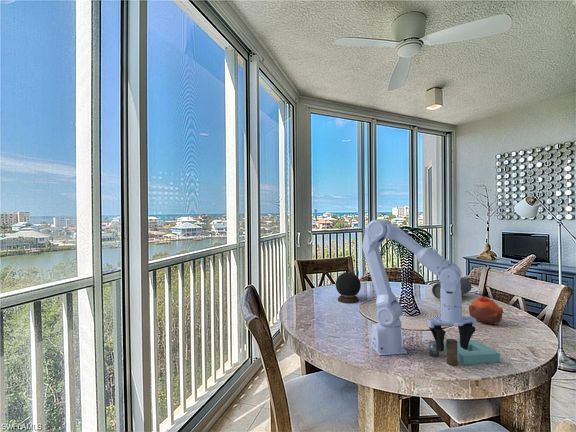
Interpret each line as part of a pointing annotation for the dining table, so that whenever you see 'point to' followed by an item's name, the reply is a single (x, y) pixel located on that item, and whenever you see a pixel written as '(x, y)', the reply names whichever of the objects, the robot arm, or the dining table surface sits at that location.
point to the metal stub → (433, 349)
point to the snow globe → (348, 287)
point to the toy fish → (485, 310)
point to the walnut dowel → (451, 352)
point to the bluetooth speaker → (464, 288)
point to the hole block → (476, 353)
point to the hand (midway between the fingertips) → (452, 349)
